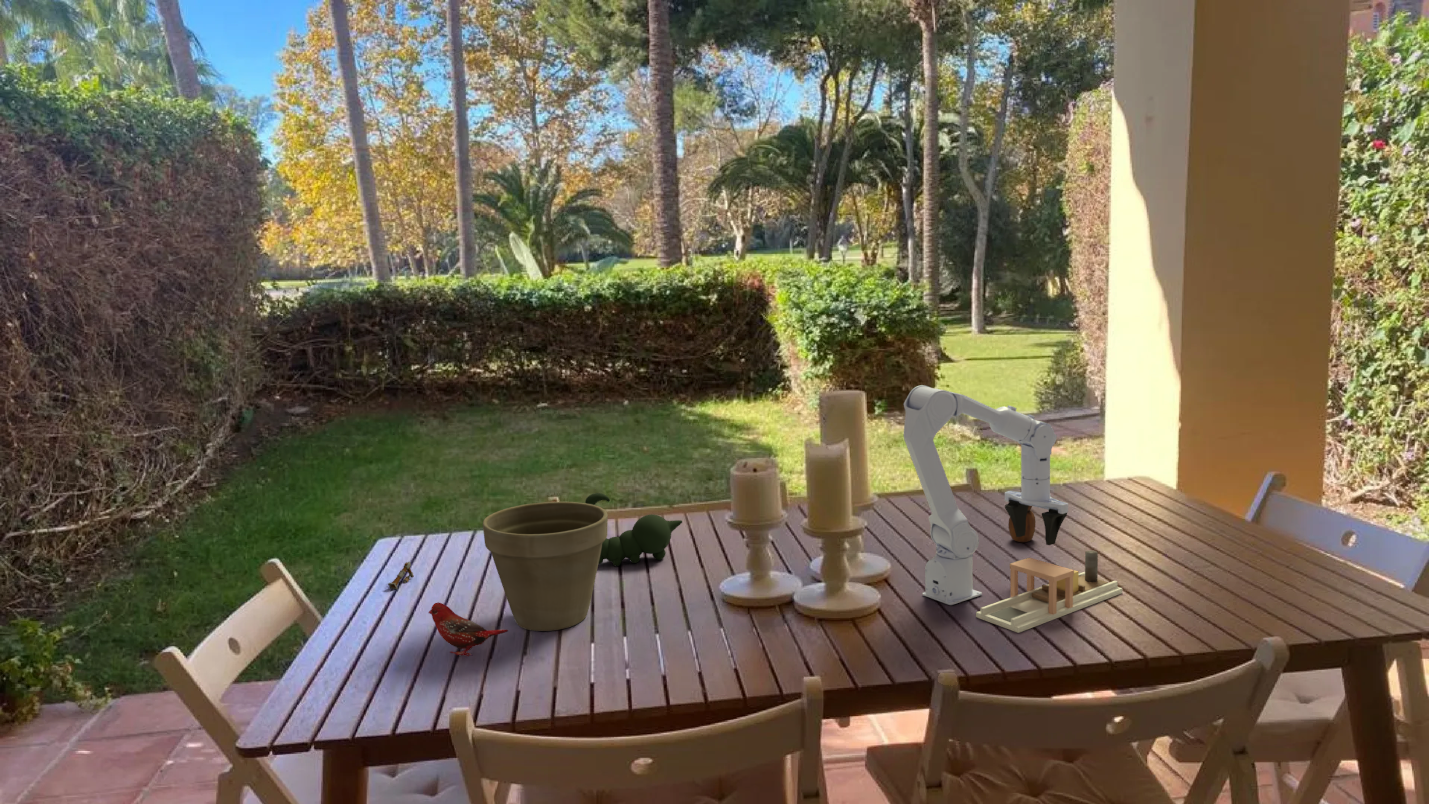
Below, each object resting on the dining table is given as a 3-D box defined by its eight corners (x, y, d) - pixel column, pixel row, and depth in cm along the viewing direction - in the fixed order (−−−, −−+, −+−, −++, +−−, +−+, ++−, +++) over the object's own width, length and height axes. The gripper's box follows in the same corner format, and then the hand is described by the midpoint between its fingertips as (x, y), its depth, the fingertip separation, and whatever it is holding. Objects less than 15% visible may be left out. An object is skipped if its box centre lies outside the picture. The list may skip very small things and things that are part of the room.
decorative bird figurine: (436, 648, 177) (432, 598, 176) (515, 659, 171) (511, 607, 169) (427, 655, 175) (422, 604, 173) (506, 665, 168) (502, 613, 167)
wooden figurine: (1029, 545, 222) (1029, 484, 219) (1005, 542, 225) (1005, 482, 223) (1038, 538, 227) (1038, 478, 225) (1015, 535, 230) (1015, 476, 228)
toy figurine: (585, 579, 218) (689, 559, 222) (572, 502, 215) (678, 483, 219) (584, 566, 227) (684, 548, 231) (572, 492, 224) (673, 474, 228)
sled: (1056, 605, 180) (1056, 571, 179) (1031, 597, 185) (1031, 564, 184) (1108, 586, 189) (1108, 554, 188) (1083, 578, 194) (1083, 547, 193)
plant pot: (638, 608, 193) (632, 507, 190) (555, 652, 173) (547, 540, 170) (551, 589, 207) (544, 495, 204) (465, 628, 187) (455, 524, 184)
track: (1019, 633, 171) (1019, 589, 170) (975, 616, 180) (975, 574, 179) (1123, 593, 188) (1123, 553, 187) (1078, 580, 197) (1078, 541, 196)
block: (1065, 595, 183) (1065, 575, 183) (1048, 589, 187) (1048, 570, 186) (1078, 590, 185) (1078, 571, 185) (1061, 585, 189) (1061, 566, 188)
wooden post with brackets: (418, 573, 220) (411, 559, 218) (400, 597, 214) (394, 583, 212) (411, 573, 221) (405, 559, 218) (394, 597, 214) (387, 583, 212)
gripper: (1077, 479, 190) (1077, 543, 192) (1019, 468, 202) (1019, 529, 204) (1055, 485, 186) (1055, 550, 188) (997, 473, 198) (998, 535, 200)
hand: (1035, 540), depth 195 cm, fingers open, 7 cm apart
